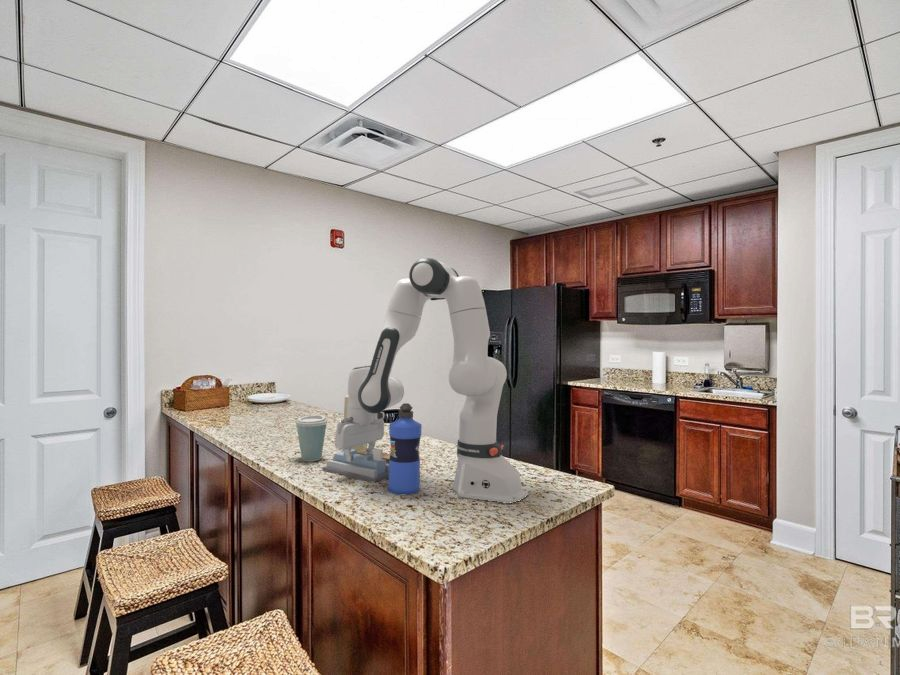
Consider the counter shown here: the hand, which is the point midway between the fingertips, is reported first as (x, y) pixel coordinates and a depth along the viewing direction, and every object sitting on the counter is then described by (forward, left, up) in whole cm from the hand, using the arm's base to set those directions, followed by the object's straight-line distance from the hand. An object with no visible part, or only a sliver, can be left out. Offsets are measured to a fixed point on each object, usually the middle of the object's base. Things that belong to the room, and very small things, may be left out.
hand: (359, 457), depth 153 cm
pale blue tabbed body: (0, 0, -4) cm, 4 cm away
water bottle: (-22, +6, -5) cm, 23 cm away
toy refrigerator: (+21, -21, -5) cm, 30 cm away
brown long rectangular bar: (+1, -13, -5) cm, 14 cm away
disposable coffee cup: (+24, -1, -5) cm, 25 cm away
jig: (0, 0, -5) cm, 5 cm away
